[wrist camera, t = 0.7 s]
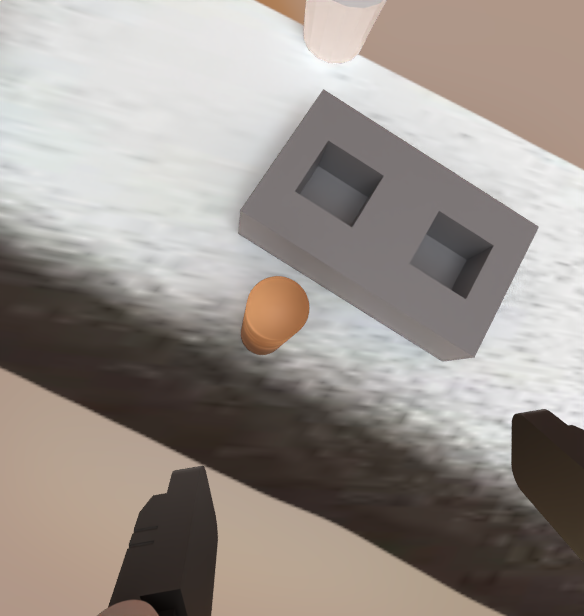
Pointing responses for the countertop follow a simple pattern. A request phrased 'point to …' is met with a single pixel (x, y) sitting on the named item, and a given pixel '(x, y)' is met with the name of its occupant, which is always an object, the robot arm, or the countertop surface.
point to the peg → (273, 314)
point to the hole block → (388, 229)
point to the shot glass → (339, 27)
